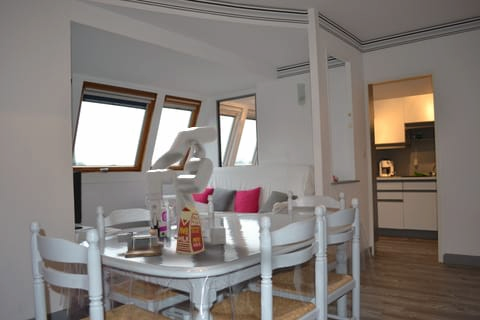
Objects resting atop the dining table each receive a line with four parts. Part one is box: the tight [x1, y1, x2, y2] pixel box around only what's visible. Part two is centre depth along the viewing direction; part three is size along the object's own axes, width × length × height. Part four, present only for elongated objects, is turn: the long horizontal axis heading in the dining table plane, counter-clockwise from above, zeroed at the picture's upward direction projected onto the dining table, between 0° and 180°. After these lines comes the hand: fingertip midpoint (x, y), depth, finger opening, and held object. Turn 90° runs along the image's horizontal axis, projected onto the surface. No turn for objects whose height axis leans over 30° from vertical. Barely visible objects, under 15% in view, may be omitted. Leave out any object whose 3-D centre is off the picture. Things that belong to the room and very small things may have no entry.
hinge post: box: [126, 231, 134, 250], centre depth 161 cm, size 2×5×7 cm, turn 9°
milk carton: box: [175, 204, 205, 256], centre depth 157 cm, size 9×9×20 cm
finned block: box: [133, 238, 151, 250], centre depth 162 cm, size 6×7×4 cm
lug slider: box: [149, 229, 159, 246], centre depth 164 cm, size 3×7×7 cm, turn 9°
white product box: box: [150, 206, 168, 239], centre depth 197 cm, size 8×8×15 cm
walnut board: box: [124, 241, 164, 258], centre depth 162 cm, size 14×23×1 cm, turn 9°
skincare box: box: [209, 225, 227, 246], centre depth 173 cm, size 6×6×7 cm
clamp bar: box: [117, 233, 157, 244], centre depth 162 cm, size 16×3×3 cm, turn 99°
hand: (156, 236), depth 173 cm, fingers closed
